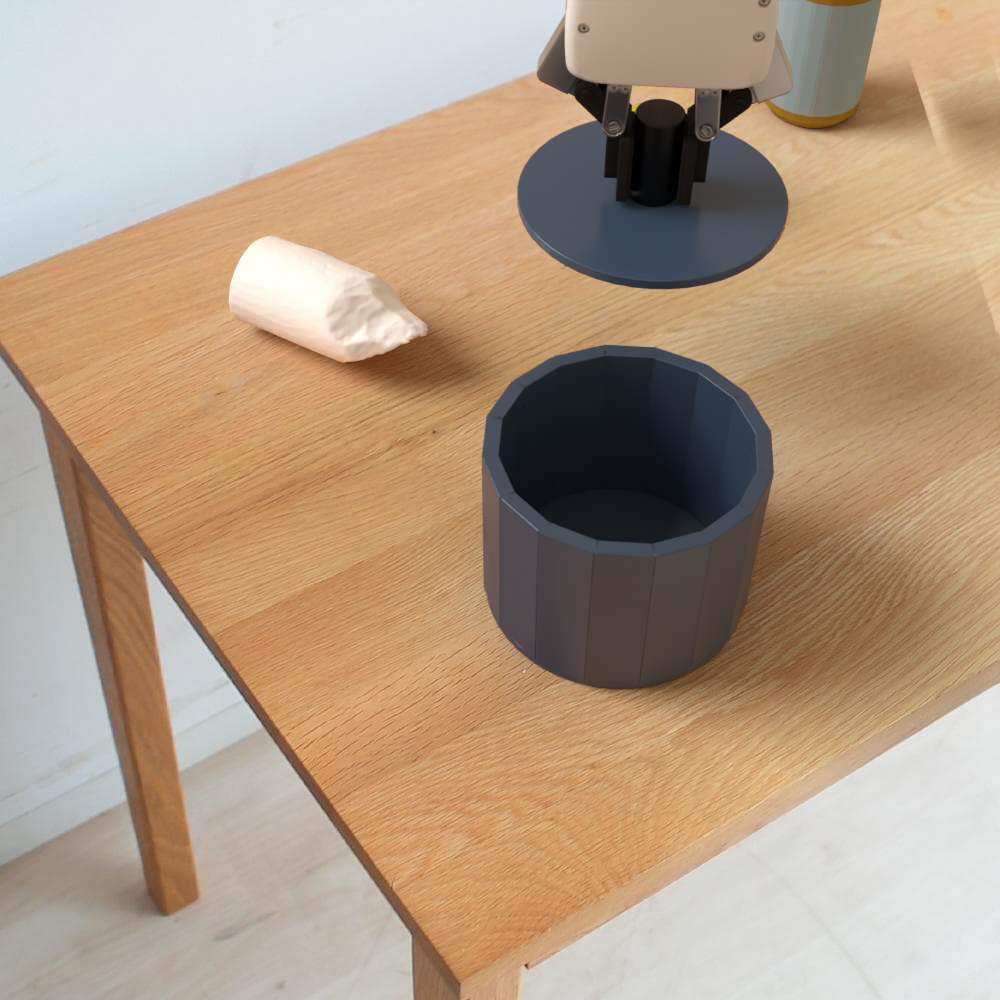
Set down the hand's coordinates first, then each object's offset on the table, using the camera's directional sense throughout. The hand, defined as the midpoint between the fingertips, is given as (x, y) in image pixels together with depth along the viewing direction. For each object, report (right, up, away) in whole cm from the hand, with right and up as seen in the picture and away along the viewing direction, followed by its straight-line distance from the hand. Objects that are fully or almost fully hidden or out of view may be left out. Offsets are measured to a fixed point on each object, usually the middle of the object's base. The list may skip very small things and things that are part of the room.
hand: (653, 185), depth 77 cm
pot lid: (0, -1, +1) cm, 1 cm away
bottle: (+14, +12, +28) cm, 33 cm away
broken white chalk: (-18, -8, +11) cm, 22 cm away
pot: (-2, -21, -2) cm, 21 cm away
